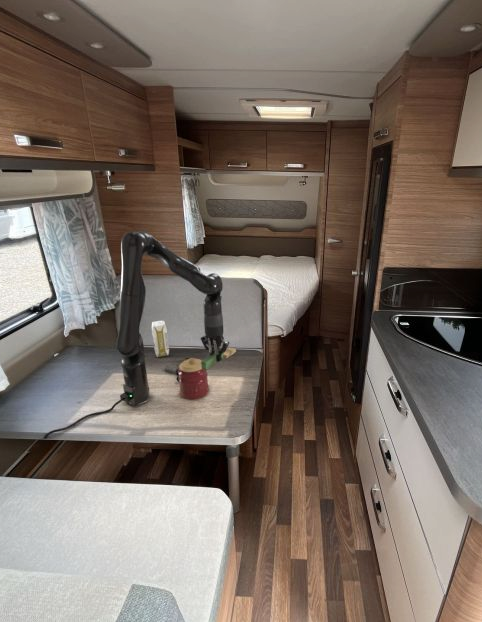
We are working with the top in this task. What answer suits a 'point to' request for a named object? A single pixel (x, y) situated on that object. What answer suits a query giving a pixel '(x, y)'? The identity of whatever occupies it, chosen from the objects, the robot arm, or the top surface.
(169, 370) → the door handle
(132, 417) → the top surface
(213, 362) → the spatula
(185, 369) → the kitchen canister
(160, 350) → the juice carton
